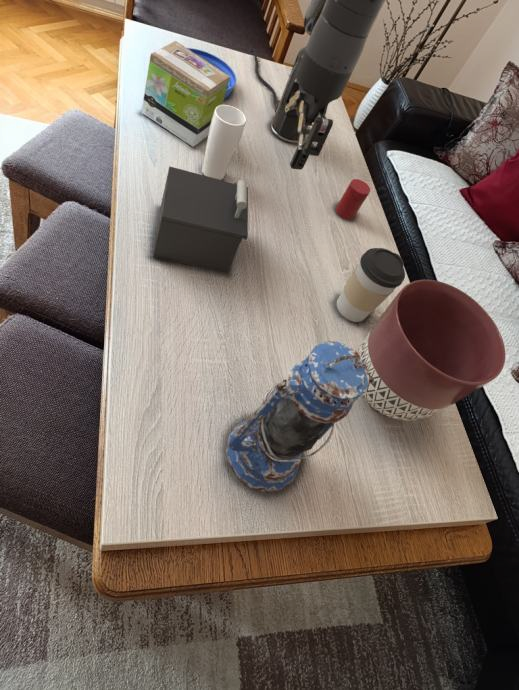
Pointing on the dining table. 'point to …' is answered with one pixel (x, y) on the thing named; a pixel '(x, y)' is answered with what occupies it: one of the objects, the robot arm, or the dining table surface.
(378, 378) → the planter
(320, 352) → the lantern
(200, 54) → the bowl
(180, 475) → the dining table surface
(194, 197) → the box lid
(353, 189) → the red cup
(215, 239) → the dark box
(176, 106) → the tea box
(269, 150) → the dining table surface
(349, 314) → the coffee cup
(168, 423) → the dining table surface
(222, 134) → the white vase
